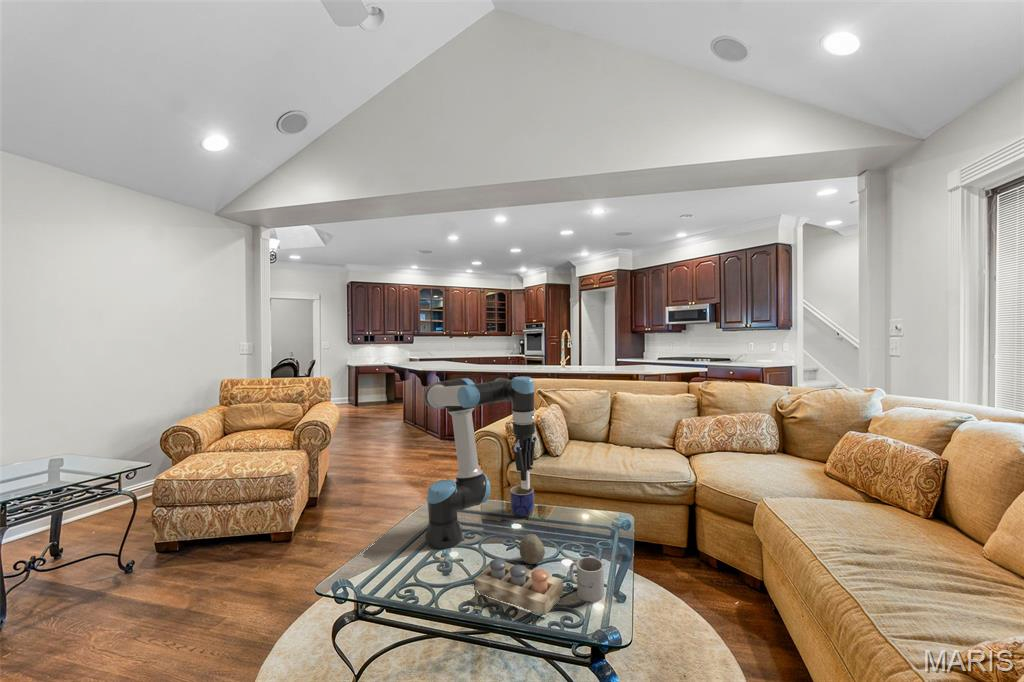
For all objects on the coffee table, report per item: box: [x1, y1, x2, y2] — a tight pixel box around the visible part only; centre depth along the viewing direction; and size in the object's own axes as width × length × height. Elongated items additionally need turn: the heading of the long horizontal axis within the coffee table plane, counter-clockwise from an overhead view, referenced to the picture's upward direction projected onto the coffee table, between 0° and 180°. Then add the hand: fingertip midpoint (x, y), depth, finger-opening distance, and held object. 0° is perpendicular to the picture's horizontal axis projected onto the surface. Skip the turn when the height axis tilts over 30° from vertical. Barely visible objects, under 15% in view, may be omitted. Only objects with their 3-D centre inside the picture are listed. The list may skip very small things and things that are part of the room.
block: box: [474, 562, 564, 615], centre depth 149 cm, size 26×13×5 cm, turn 59°
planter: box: [509, 484, 535, 518], centre depth 205 cm, size 11×11×11 cm
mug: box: [569, 556, 605, 603], centre depth 149 cm, size 12×9×10 cm
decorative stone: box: [519, 533, 546, 565], centre depth 166 cm, size 10×8×10 cm
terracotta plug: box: [531, 568, 549, 595], centre depth 144 cm, size 5×5×7 cm
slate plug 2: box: [510, 564, 527, 587], centre depth 148 cm, size 5×5×7 cm
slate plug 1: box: [489, 558, 507, 580], centre depth 152 cm, size 5×5×7 cm
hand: (525, 488), depth 157 cm, fingers closed
